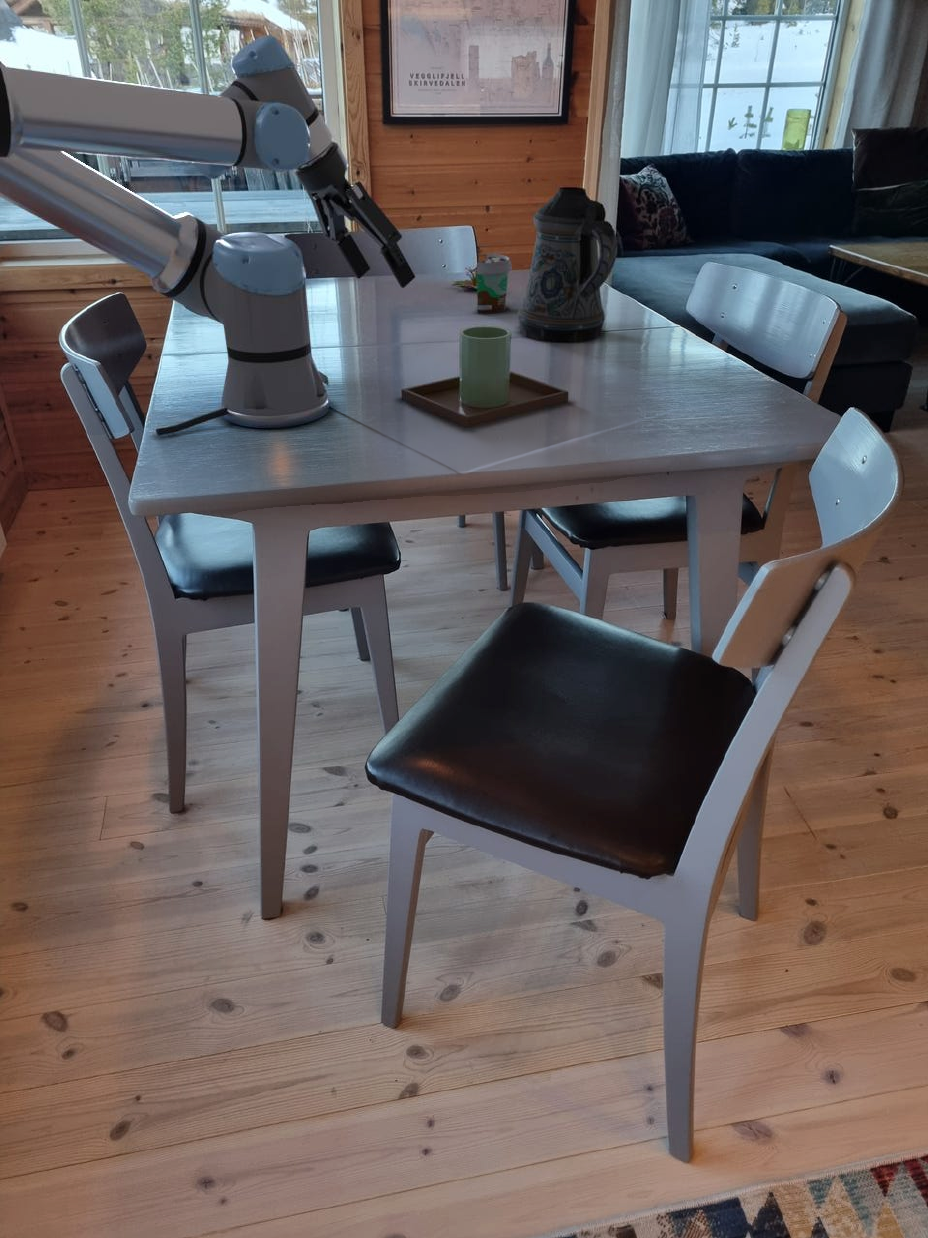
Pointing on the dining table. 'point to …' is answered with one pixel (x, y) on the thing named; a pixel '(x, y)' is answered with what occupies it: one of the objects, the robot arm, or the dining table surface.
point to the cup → (485, 366)
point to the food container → (492, 283)
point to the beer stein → (568, 269)
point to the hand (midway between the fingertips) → (385, 277)
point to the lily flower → (467, 281)
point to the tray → (447, 404)
